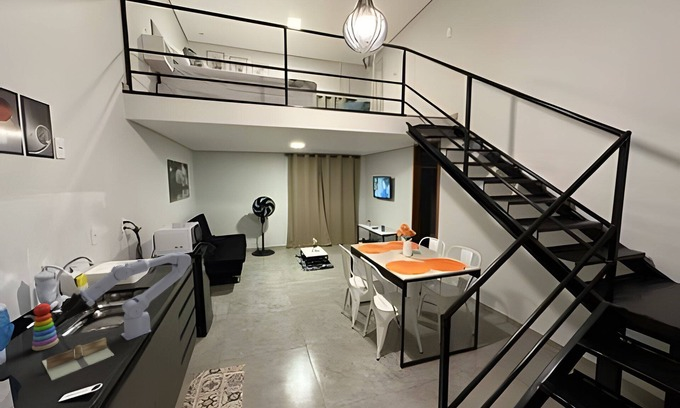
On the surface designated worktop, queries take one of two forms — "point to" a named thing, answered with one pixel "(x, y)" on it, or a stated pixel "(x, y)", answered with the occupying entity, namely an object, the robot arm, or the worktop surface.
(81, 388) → the worktop surface
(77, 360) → the card
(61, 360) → the fence panel
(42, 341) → the stacking toy
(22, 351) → the worktop surface
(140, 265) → the robot arm
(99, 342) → the fence
